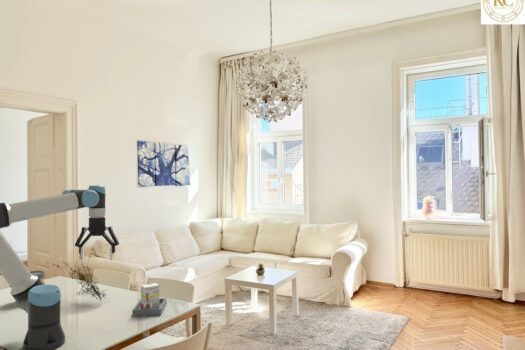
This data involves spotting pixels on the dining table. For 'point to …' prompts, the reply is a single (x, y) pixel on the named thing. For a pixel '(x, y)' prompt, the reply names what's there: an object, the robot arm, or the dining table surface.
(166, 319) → the dining table surface
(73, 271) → the dried plant
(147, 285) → the ink box
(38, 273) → the reusable coffee cup
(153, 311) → the pin tray
